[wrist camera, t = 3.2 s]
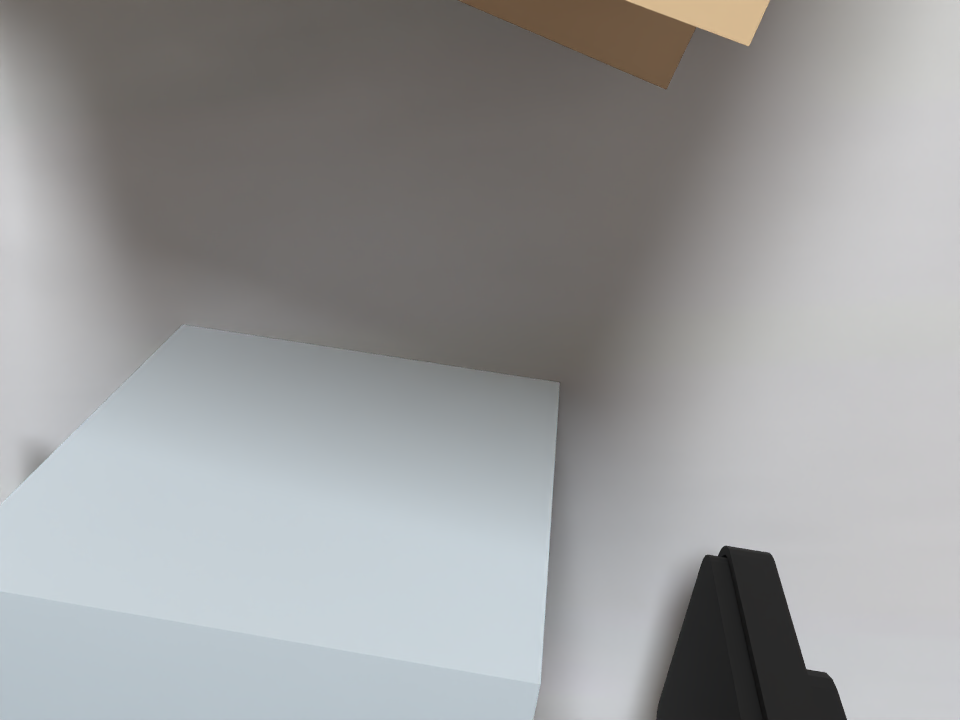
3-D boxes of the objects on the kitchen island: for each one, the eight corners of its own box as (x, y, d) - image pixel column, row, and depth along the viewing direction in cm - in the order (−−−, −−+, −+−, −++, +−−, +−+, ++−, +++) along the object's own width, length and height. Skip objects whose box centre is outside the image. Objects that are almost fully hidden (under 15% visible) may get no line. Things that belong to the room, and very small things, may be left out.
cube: (509, 656, 13) (471, 1019, 9) (200, 603, 14) (13, 930, 9) (560, 379, 11) (540, 684, 7) (185, 322, 11) (-74, 578, 7)
